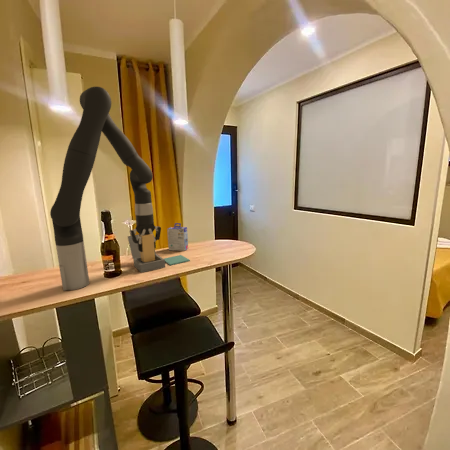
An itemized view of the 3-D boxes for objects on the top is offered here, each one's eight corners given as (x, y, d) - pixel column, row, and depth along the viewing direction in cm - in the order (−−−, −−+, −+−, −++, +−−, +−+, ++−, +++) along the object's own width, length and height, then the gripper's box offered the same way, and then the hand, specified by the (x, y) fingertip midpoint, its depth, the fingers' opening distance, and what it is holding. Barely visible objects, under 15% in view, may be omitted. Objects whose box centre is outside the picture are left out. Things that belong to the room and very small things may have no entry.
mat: (170, 265, 125) (170, 264, 125) (162, 260, 133) (162, 258, 133) (189, 261, 130) (189, 259, 130) (181, 256, 138) (181, 254, 138)
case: (141, 272, 117) (140, 264, 117) (134, 265, 126) (133, 258, 126) (165, 267, 123) (164, 259, 122) (157, 260, 132) (156, 253, 132)
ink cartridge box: (188, 248, 152) (187, 222, 149) (185, 251, 147) (183, 224, 144) (172, 247, 154) (170, 222, 151) (168, 250, 149) (166, 224, 146)
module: (144, 262, 121) (142, 235, 118) (140, 259, 125) (138, 233, 122) (155, 260, 123) (153, 234, 121) (151, 257, 127) (149, 232, 125)
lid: (127, 235, 129) (127, 237, 130) (133, 258, 126) (132, 259, 127) (150, 232, 135) (149, 233, 136) (156, 253, 132) (155, 254, 133)
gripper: (130, 216, 113) (133, 255, 116) (163, 212, 121) (165, 249, 124) (125, 214, 119) (128, 251, 122) (157, 210, 127) (159, 246, 130)
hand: (147, 250), depth 123 cm, fingers closed on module, 5 cm apart
